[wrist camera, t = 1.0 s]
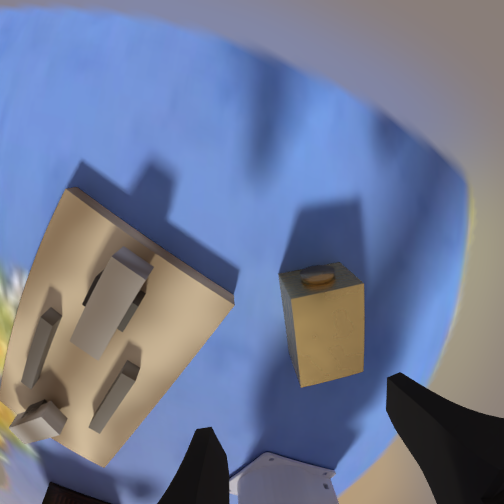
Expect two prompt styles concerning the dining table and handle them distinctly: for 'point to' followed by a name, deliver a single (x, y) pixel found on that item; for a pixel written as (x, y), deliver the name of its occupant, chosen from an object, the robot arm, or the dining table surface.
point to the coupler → (323, 322)
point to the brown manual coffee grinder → (67, 496)
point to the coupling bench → (139, 341)
